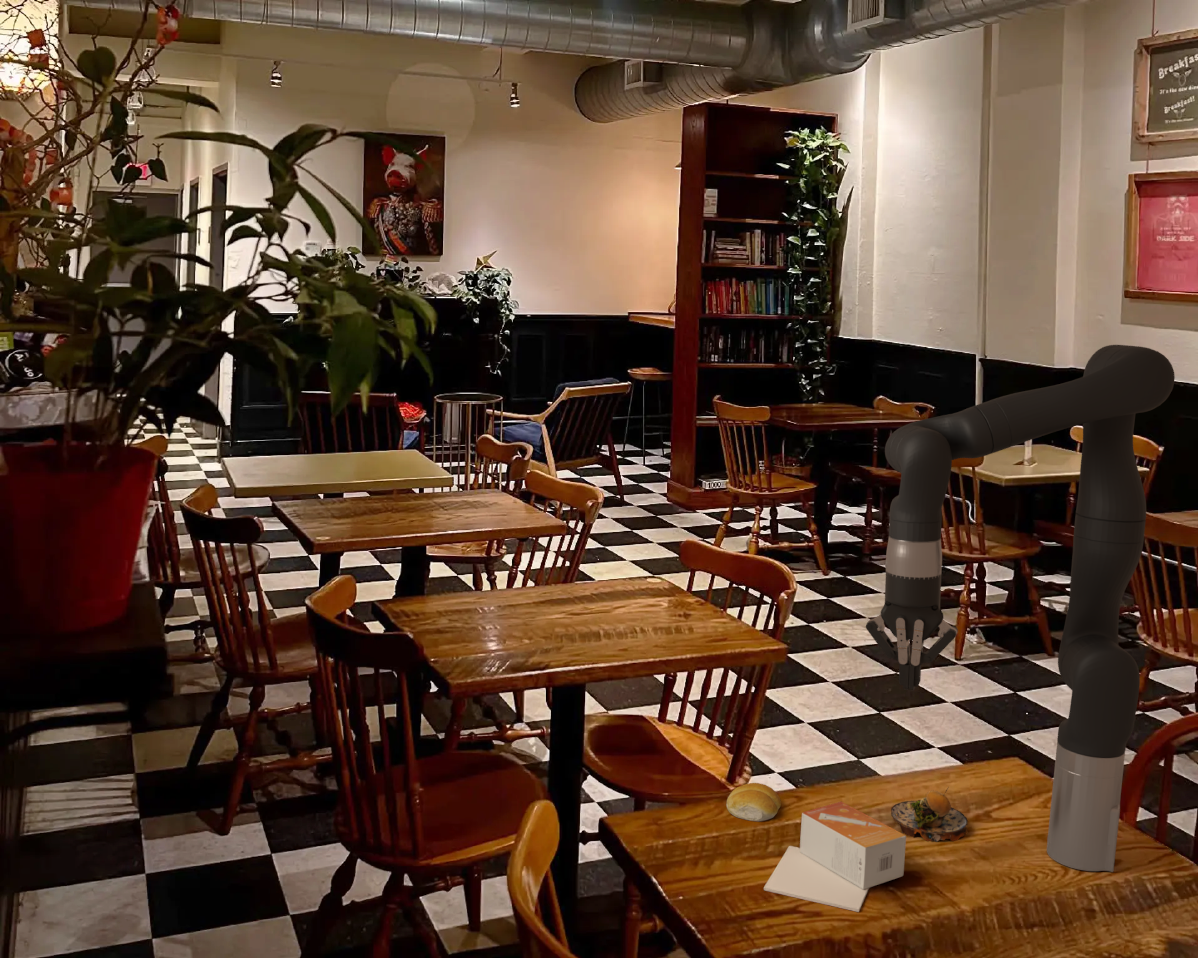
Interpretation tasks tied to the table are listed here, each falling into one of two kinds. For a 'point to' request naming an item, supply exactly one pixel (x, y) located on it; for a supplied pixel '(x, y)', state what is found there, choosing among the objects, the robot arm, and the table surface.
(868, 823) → the small box
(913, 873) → the table surface
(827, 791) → the table surface
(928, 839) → the burger
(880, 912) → the table surface
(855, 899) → the mat
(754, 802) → the bread roll
